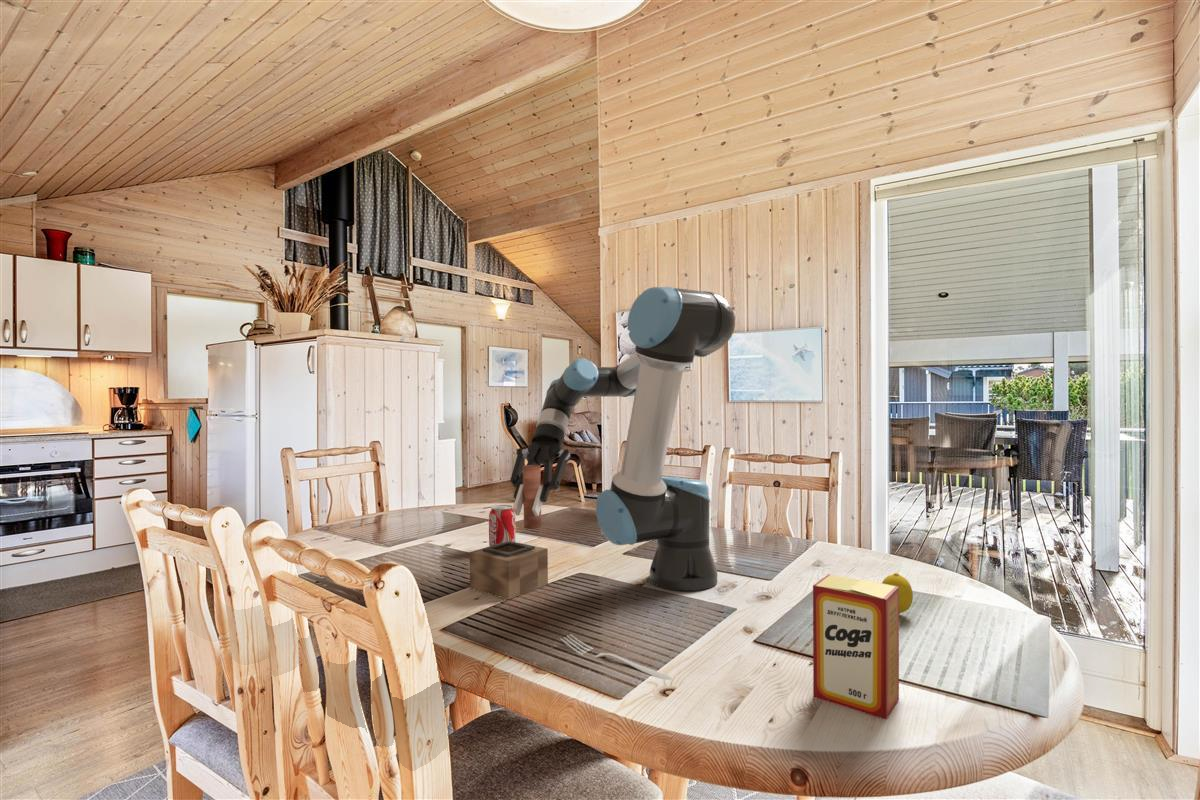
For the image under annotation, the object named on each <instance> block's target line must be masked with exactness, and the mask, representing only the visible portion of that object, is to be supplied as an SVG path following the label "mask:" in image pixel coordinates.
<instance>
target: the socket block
mask: <svg viewBox="0 0 1200 800" xmlns="http://www.w3.org/2000/svg"><path fill="white" fill-rule="evenodd" d="M548 551H549V549H548V548H546V547H541V546H537V545H531V544H526V543H522V542H517V541H515V542H512V541H507V542H504V543H500V544H497V545H493V546H486V547H482V548H480V549H475V550H471V551H470V552H469V589H470V588H471V590H473V589H475V591H477V590H479V591H478V592H481V591H482V592H481V593H484V592H485V594H488V593H489V594H488V595H491V594H492V596H495V595H496V596H495V597H498V596H500V597H499V598H502V597H503V599H505V598H506V600H512V599H514V598H516V596H517V597H519V596H522V595H525V594H527V593H530V592H533V591H534V590H538V589H539V588H542V586H543V587H545V586H548V585H547V584H549V563H548V559H549V557H548V556H549V555H548V554H549V553H548ZM537 588H538V589H537ZM513 597H514V598H513ZM511 598H512V599H511Z"/></svg>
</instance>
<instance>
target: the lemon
mask: <svg viewBox="0 0 1200 800" xmlns="http://www.w3.org/2000/svg"><path fill="white" fill-rule="evenodd" d="M881 583H882V584H887V585H892V586H897V587H899V615H901V614H902V613H905V612H907V611H908V610H909V609H910V608H911V606H912V603H913V600H914V595H913V589H912V585H911V584H910V582H909V581H908V579H907V578H906V577H904V576H903V575H900V574H899V573H898V572H894V573H892V574H890V575H887V576H886V577H885V578H884V579H883V580H882V582H881Z"/></svg>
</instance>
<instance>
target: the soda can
mask: <svg viewBox="0 0 1200 800" xmlns="http://www.w3.org/2000/svg"><path fill="white" fill-rule="evenodd" d="M513 506H514V505H510V504H497V505H492V506H491V507H490V509H491V510H490V511H489V514H488V544H489V546H493V545H497V544H500V543H504V542H507V541H512V542H516V537H517V536H516V514H515V512H514V510H513ZM489 546H488V547H489Z"/></svg>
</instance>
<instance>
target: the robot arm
mask: <svg viewBox="0 0 1200 800" xmlns="http://www.w3.org/2000/svg"><path fill="white" fill-rule="evenodd" d="M626 327H627V330H628V331H629V332H628V337H629V339H630V341H631V342H632V343H633V344H634V345H635V349H634V353H635V354H633V355H631V356H630V357H629V358H627V359H626V360H624V361H623V362H620V363H619V364H617V365H615V366H597V365H595V363H594V362H592V361H591V360H588V359H586V358H576V359H574V360H573V361H572V362H571V363H570V364H569V365H568V366H567V367H566V368H565V370H564V371H563V372H562V374H561V376H560V377H559V378H557V379H554V380H552V381H551V383H550V384H549V387H548V389H547V390H546V394H545V399H544V401H543V405H542V407H541V411H540V413H539V417H538V420H537V423H536V427H535V430H534V432H533V435H532V439H531V443H530V444H529V445H528V447H527V448H525V449H522V448H521V447H520V448H519V447H518V448H517V449H516V455H517V456H516V459H515V463H514V465H513V469H512V473H511V475H510V476H511V477H510V479H509V480H510V483H511V484H512V486H513V487H514V488H515V489H514V493H513V499H514V502H513V505H512V506H513V508H512V509H513V510H514V512H515V516H520V514H521V511H522V509H523V506H524V504H523V466H525V463H526V462H525V461H526V459H527V456H528V455H529V457H528V461H527V463H526V465H542V464H543V465H544V466H543V476H542V477H543V479H542V482H541V485H539V488H538V491H537V495H536V498H535V501H534V505H533V508H532V511H533V513H534V515H535V516H539V513H540V509H541V510H542V505H543V503H546V502H547V501H548V497H549V494H550V491H552V490H558V489H559V488H560V485H561V481H562V478H563V475H564V473H565V469H566V466H567V463H568V462H569V461H570V460H571V457H572V456H571V454H570V451H569V450H568V449H564V450H563V449H562V447H563V444H564V440H565V436H566V434H567V433H566V432H567V430H568V425H569V422H570V419H571V416H572V412H573V410H574V408H575V407H576V406H577V405H578V404H579V402H580V401H581V400H582V398H589V397H590V398H591V397H592V398H593V397H595V398H596V397H617V398H618V397H621V398H627V397H628V398H629V397H634V398H633V403H632V408H631V414H630V420H629V425H628V430H627V431H628V432H627V437H626V440H625V441H626V442H625V446H624V452H623V458H622V462H621V463H622V464H621V470H619V471H617V472H616V473H614V474H613V476H612V478H611V484H610V488H609V489H604V490H603V491H601V493H599V494H598V496H597V498H596V502H595V514H596V519H597V523H598V526H599V528H600V530H601V533H602V534H603V536H604V537H605V538H606V540H607V541H609V542H610V543H611V544H614V545H616V546H625V545H627V546H628V545H629V546H633V545H635V544H638V543H644V542H651V541H656V542H657V543H656V549H655V552H654V554H653V559H652V560H651V565H650V568H649V580H650V582H651V583H652V584H653V585H655V586H657V587H660V588H662V589H667V590H673V591H674V590H675V591H684V592H686V591H687V592H688V591H689V592H690V591H701V590H707V589H711V588H712V587H714V586H716V585H717V583H718V570H717V567H716V563H715V560H714V557H713V554H712V551H711V549H710V502H711V499H710V492H709V491H710V490H709V485H707V483H706V482H705V481H702V480H696V479H692V478H684V477H673V476H663V472H664V467H665V462H666V457H667V452H668V448H669V442H670V438H671V432H672V428H673V422H674V418H675V412H676V408H677V403H678V399H679V398H678V397H679V394H680V389H681V388H680V387H681V384H682V379H683V374H684V370H685V368H687V367H688V366H690V365H691V364H693V363H694V358H695V357H697V358H704V357H707V356H709V355H711V354H712V353H715V352H716V351H718V350H720V349H721V348H723V347H724V346H725V345H726V344H727V343H728V342H729V341H730V340H731V338H732V336H733V334H734V332H735V328H736V315H735V312H734V310H733V308H732V306H731V304H730V303H729V301H727V300H726V298H724V297H723V296H722V295H719V294H717V293H715V292H713V291H707V290H706V291H705V290H703V291H701V290H694V289H686V288H679V287H673V286H654V287H649V288H647V289H645V290H643V291H642V293H641V294H639V295H638V296H637V297H636V298H635V299H634V301H633V303H632V305H631V307H630V310H629V312H628V318H627V326H626ZM557 458H558V460H557V463H556V466H555V469H554V472H553V473H552V471H553V465H554V461H555V460H556V459H557ZM552 474H553V475H552ZM542 484H543V485H542Z"/></svg>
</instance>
